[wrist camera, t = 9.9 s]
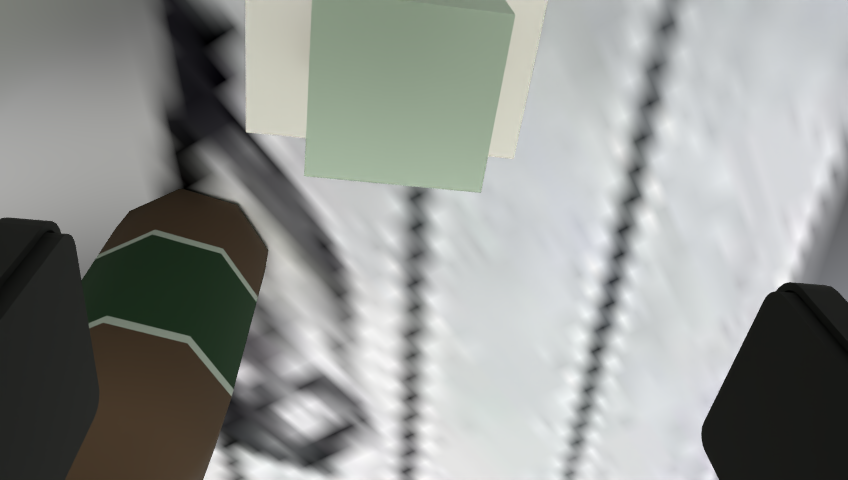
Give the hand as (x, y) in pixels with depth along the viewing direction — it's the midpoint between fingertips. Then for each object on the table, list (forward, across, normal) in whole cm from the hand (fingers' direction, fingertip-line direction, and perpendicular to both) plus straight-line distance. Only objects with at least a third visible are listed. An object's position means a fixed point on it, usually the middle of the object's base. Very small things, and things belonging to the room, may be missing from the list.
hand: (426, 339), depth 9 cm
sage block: (+16, 0, 0) cm, 16 cm away
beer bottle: (+23, +9, +15) cm, 29 cm away
